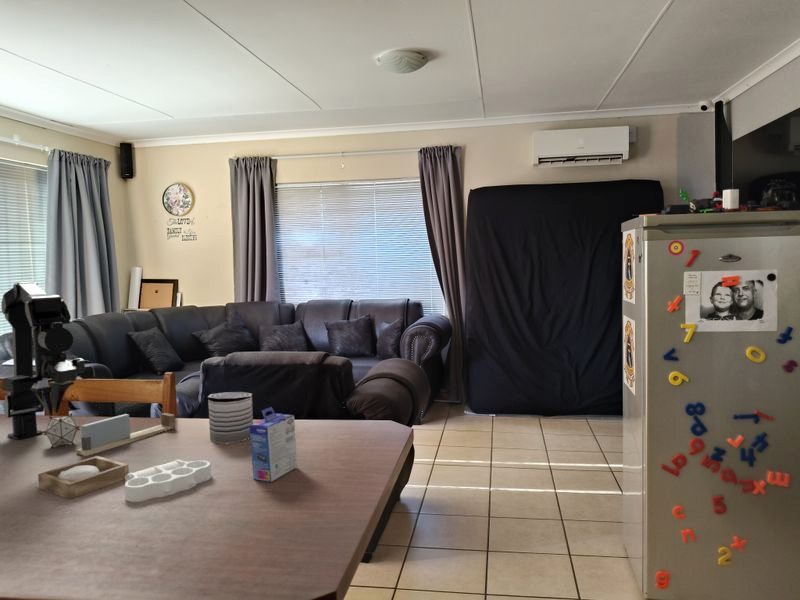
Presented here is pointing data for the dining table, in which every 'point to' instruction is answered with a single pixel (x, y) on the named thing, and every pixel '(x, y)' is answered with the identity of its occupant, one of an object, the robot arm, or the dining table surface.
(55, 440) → the game die
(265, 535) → the dining table surface
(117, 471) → the garlic tray
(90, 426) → the panel
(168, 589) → the dining table surface
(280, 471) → the ink cartridge box
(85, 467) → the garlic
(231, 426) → the can
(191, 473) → the white brass knuckles
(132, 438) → the rail
